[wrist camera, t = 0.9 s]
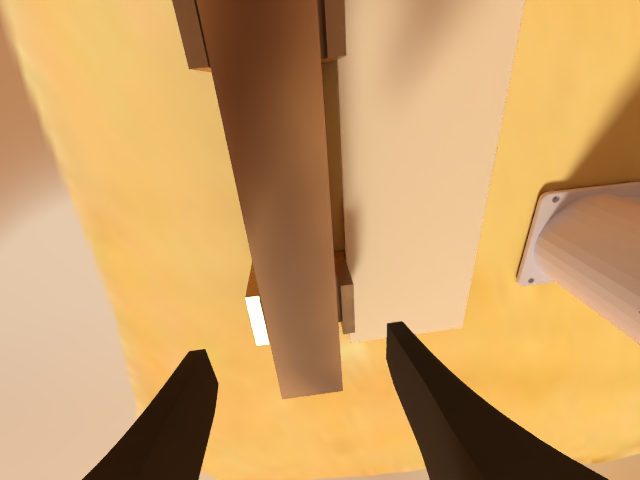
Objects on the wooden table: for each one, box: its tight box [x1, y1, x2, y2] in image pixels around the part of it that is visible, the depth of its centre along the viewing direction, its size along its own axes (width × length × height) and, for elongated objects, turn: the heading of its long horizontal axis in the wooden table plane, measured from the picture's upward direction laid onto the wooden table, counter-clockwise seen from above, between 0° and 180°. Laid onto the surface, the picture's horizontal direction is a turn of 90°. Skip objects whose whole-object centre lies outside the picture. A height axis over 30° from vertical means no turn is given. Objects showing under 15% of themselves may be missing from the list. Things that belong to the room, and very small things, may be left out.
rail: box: [196, 0, 343, 399], centre depth 15 cm, size 4×26×3 cm, turn 4°
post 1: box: [172, 0, 346, 72], centre depth 14 cm, size 7×4×4 cm, turn 95°
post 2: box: [245, 251, 355, 345], centre depth 21 cm, size 7×4×4 cm, turn 94°
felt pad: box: [337, 0, 525, 343], centre depth 19 cm, size 10×30×1 cm, turn 4°
